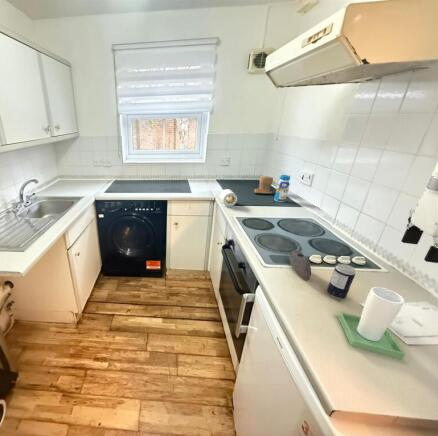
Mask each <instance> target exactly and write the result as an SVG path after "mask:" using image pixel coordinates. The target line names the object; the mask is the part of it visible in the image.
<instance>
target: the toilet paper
mask: <svg viewBox="0 0 438 436" xmlns="http://www.w3.org/2000/svg"><path fill="white" fill-rule="evenodd" d="M219 198H220V200H221V201H222V202H223V204H224V205H225V206H227V207H232V206H234V205H236V204H237V202H238V196H237V194H235V193H234V192H233V190H231V189H229V188H227V189H226V188H225V189H223V190H221V192H220V194H219Z"/></svg>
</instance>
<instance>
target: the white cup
mask: <svg viewBox="0 0 438 436" xmlns="http://www.w3.org/2000/svg"><path fill="white" fill-rule="evenodd" d="M404 304H405V299H404V297H403V296H402V295H400V293H397V292H395V291H394V290H391V289H390V288H386V287H381V286H373V287H371V288H370V290H369V292H368V294H367V297H366V298H365V301H364V305H363V308H362V311H361V316H360V317H361V318H360V321H359V324H358V326H357V331H358V333H359V334H360V335H361V336H362V337H364V338H365V339H368V340H370V341H379V340H380V339H381V337H382V335H383V334H384V332H385V331H386V330H387V328H388V329H389V327H390V326H391V324H392V323H393V321H394V320H395V319H396V318H397V316H398V315H399V313H400V311H401V309H402V307H403V305H404Z"/></svg>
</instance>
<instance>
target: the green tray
mask: <svg viewBox="0 0 438 436" xmlns="http://www.w3.org/2000/svg"><path fill="white" fill-rule="evenodd" d="M337 318H338V320H339V323H340V325H341V327H342V329H343V331H344V333H345V336H346V338H347V341H348V342H349V345H350V346H351V347H354V348H357V349H361V350H363V351H364V350H365V351H368V352H372V353H376V354H379V355H380V354H381V355H383V356H387V357H391V358H395V359H398V360H403V359H404V357H405V356H406V353H405V352H404V350H403V349H402V348H401V346H400V344H399V343H398V341H397V339H395V338H396V337H394V335H393V333H391V331H390V330H389V327H388V328H387V330H386V331H385V332H384V334H383V335H382V337H381V339H380V340H379V341H370V340H368V339H365V338H364V337H362V336H361V335H360V334H359V333H358V331H357V326H358V324H359V321H360V318H361V316H359V315H354V314H350V313H346V312H341V311H339V313H338V316H337Z"/></svg>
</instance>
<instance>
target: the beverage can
mask: <svg viewBox="0 0 438 436" xmlns="http://www.w3.org/2000/svg"><path fill="white" fill-rule="evenodd" d="M333 269H334V270H333V272H332V275H331V277H330V280H329V283H328V286H327V289H326V291H327V293H328V294H329V296H330V297H332V298H334V299H338V300H342V299H345V298H347V296H348V293H349V291H350V289H351V287H352V284H353V281H354V278H355V276H356V268H355V267H353V266H352V265H350V264H345V263H338V264H337V265H336V266H335V267H334V268H333Z"/></svg>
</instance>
